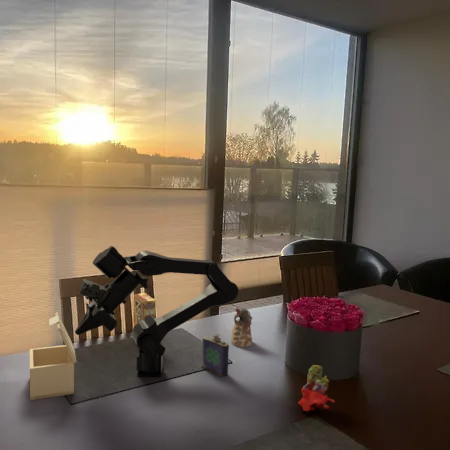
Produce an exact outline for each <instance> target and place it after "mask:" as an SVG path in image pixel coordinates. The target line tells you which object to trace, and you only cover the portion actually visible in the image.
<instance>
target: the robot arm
mask: <svg viewBox="0 0 450 450" xmlns="http://www.w3.org/2000/svg"><path fill="white" fill-rule="evenodd" d="M92 265H94V267H96V268H97V269H98V271H100V272H101V273H102V274H104V276H105V277H106V278H108V279H111V278H112V279H113V281H112V282H111V283H109V282H106V283H105V284H104V285H101V284H98V283H96V282H94V281H91V280H90V279H89V280H88V279H86V278H83V280H82V281H81V284H80V285H79V288H78V291H79V294H80V295H81V296H83V297H85V299H86V300H90V303H88V302H86V303H85V313H84V315H83V317H82V319H81V321H80V323H79V324H78V325H77V327H76V328H75V330H74V334H76V335H77V336H80V335H81V334H85V333H87V332H89V331H92V330H95V329H97V328H100V327H105V328H106V329H107V330H108V331H109V332H112V331H114V330H115V328H116V327H117V325H118V323H117V319H116V317H115V314H116V312H115V310H117V309H118V307H120V305H122V304H123V305H125V304H126V303H128V301H127V299H128V297H129V296H131V294H132V293H133V292H134V291H136V290H137V288H138V287H139V286H140V285H141V286H142V287H143V288H144V289H145V290H146V289H148V281H149V278H147V277H153V276H160V275H163V274H170V273H172V274H185V275H187V274H188V275H204V276H206V278H207V280H208V281H209V283H210V284H208V286H207V287H206V288H205V290H204V291H203V292H202V293H200V294H198V295H196V296H195V297H193V298H191V299H190V300H188V301H186V302H184V303H183V304H181V305H180V306H178V307H176V308H174V309H173V310H171V311H169V312H168V313H165V314H163V315H162V316H159V317H155V318H153V317H152V316H151V315H149V316H147V317H146V318H145V319H143V320H140V321H137V322H138V324H136V325H135V326H134V325H133V328H132V331H131V336H132V339H133V341H134V342H135V344H136V347H138V348H139V351H138V353H137V356H136V371H137V374H136V375H137V376H138V377H155V378H156V377H162V373H163V369H164V364H163V363H164V362H163V358H164V354H165V351H166V347H165V345H164V344H163V343H162V341H163V340H164V339H165V337H166V336H167V334H168V333H170V332H171V331H172V330H174V329H176V328H177V327H179V326H181V325H183V324H184V323H185V324H186V322H188V321H190V320H192V319H193V318H195V317H197V316H198V315H200V314H202V313H203V312H205V311H207V310H209V309H210V308H212V307H216V306H222V305H226V304H229V303H231V302H233V301H235V300H236V299H237V298H238V294H239V287H238V285H237V284H236V283H235V282H233V281H231V280H230V279H229V278H228V277H227V275H226V274H225V273H224V272H223V271H222V270H221V269H220V267H219V265H218V264H217V263H216V262H215V261H213V260H211V259H196V258H183V257H182V258H180V257H170V256H169V257H168V256H166V255H162V254H160V253H156V252H152V251H149V250H140V251H139V252H138V253H137V254H136V255H129V256H123V255H122V254H121V253H120V252H119V251H118V249H117V248H116V247H114V245H110V246H109V247H108V248H106V249H104V250H102V251H101V252H99V253H98V254H97V255H96V256H95V258H94V259H93V261H92ZM127 266H128V267H129V269H128V268H127ZM130 269H131V270H130ZM138 272H139V273H138ZM140 274H141V275H140ZM142 275H143V276H142Z"/></svg>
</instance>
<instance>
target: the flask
mask: <svg viewBox="0 0 450 450" xmlns="http://www.w3.org/2000/svg"><path fill="white" fill-rule="evenodd" d="M219 336H220V334H219V333H218V334H217V333H216V334H215V335H212V337H211V336H203V337H202V349H201V365H200V366H201V367H202V369H204V370H206V371H208V372H211V373H214V374H217V375H218V376H220V377H224V378H225V377H228V375H229V373H228V372H229V352H230V351H229V350H230V349H229V348H230V345H229V343H226V341H223V340H222V339H221V338H220V337H219Z"/></svg>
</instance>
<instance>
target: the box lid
mask: <svg viewBox="0 0 450 450" xmlns="http://www.w3.org/2000/svg"><path fill="white" fill-rule="evenodd" d="M48 322H49V323H48V324H49V327H50V326H53V325H56V326H57V331H58V332H59V334H60V336H61V339H62V340H63V343H64V344H65V345H66V347H67V349H68V351H69V353H70V355H71V357H72V359H73V361H74V364H75V363H77V358H76V357H77V356H76V352H75V347H74V345H73V342H72V340H71V337H70V335H69V333H68V331H67V329H66V327H65V325H64V323H63V321H62V318H61V317H60V315H59V312H58V311H56V312H55V315H54V316H53V317H51V318H49V319H48Z"/></svg>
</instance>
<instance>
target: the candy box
mask: <svg viewBox="0 0 450 450" xmlns="http://www.w3.org/2000/svg"><path fill="white" fill-rule="evenodd" d="M156 301H157V300H156V299H155V298H153V297H151V296H150V295H149V294H147V293H146V292H144V293H142V292H141V293H136V294H133V327H134V326H135V325H136V324H138V322H137V321H140V320H143V319H145V318H146V317H147V316H149V315H151V316H152V317H153V318H156V308H157V307H156Z"/></svg>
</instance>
